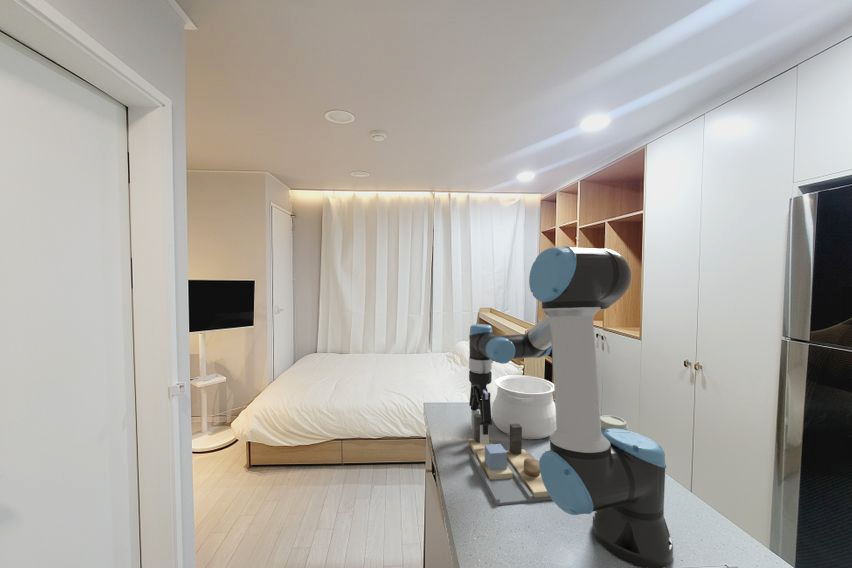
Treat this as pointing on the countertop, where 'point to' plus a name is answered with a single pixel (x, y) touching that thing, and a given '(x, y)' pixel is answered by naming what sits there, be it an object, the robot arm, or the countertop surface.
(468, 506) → the countertop surface
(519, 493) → the lane board
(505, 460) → the blue block
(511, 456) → the strip
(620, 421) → the coffee cup
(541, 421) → the pot
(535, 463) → the brown rounded piece
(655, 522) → the robot arm
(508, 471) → the strip
